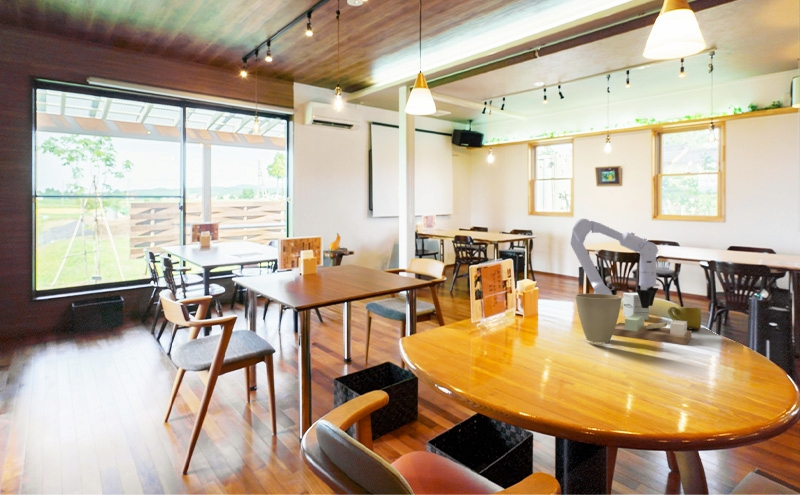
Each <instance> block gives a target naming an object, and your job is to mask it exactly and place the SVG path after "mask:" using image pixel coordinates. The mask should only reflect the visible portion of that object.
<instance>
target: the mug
mask: <svg viewBox="0 0 800 495" xmlns="http://www.w3.org/2000/svg"><path fill="white" fill-rule="evenodd" d="M667 314H668V315H669V317H670V318H671V320H672V321H673V320H679V321H687V330H695V331H696V330H697V331H700V329H701V326H702V309H700V308H699V307H690V306H679V307H676V306H669V307H668V309H667Z"/></svg>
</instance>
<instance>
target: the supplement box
mask: <svg viewBox="0 0 800 495" xmlns="http://www.w3.org/2000/svg"><path fill="white" fill-rule="evenodd" d="M622 296H623V297H622V298H623V299H622V304H623V305H622V316H623V317H624V318H628V317H630V316H631V315H640V316H644V321H646V320H649V319H650V314H649V313H650V306H649V307H648V308H642V306H641V302H640V298H639V295H638V293H637V292H623V294H622Z"/></svg>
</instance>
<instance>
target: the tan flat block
mask: <svg viewBox="0 0 800 495" xmlns="http://www.w3.org/2000/svg"><path fill="white" fill-rule="evenodd" d="M645 326H646V329H652V328H661V327H662V328H667V326H668V322H667V321H665V322H664V321H663V322H657V323H649V324H647V325H645Z"/></svg>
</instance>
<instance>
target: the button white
mask: <svg viewBox="0 0 800 495" xmlns="http://www.w3.org/2000/svg"><path fill="white" fill-rule="evenodd" d="M669 328H670V335H678V336H684V335H685V334H686V333H687V331H688V329H687V321H679V320H672V321H671V322H670V324H669Z"/></svg>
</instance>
